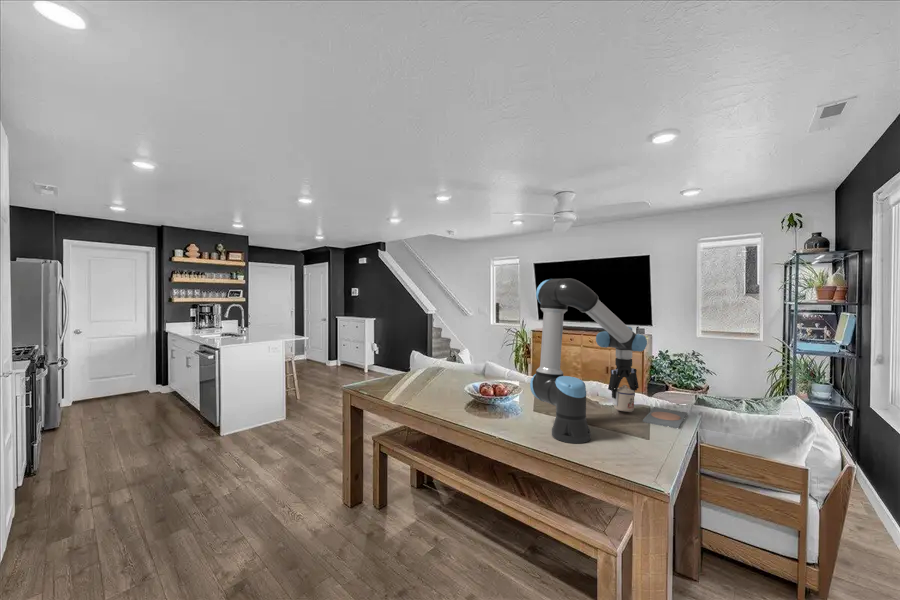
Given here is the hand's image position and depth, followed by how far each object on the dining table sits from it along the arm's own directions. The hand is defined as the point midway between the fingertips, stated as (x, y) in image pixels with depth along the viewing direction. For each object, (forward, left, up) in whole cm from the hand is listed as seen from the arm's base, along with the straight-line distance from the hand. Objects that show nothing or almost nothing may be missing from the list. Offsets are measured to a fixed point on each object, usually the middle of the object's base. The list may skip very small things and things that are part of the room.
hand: (623, 403), depth 186 cm
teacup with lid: (+1, 0, -3) cm, 3 cm away
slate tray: (+11, -14, -4) cm, 18 cm away
